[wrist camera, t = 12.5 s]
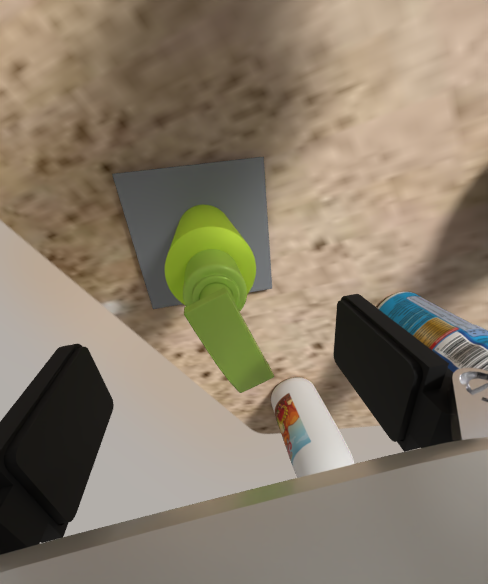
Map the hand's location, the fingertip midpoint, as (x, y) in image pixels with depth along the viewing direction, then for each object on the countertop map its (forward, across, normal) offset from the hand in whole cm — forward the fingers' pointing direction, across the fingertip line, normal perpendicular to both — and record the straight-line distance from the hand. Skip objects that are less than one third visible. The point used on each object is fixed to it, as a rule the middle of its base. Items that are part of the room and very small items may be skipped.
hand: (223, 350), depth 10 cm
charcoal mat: (+22, 0, +1) cm, 22 cm away
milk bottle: (+22, -10, +29) cm, 37 cm away
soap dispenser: (+21, 0, 0) cm, 21 cm away
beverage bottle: (+22, -27, +17) cm, 38 cm away
